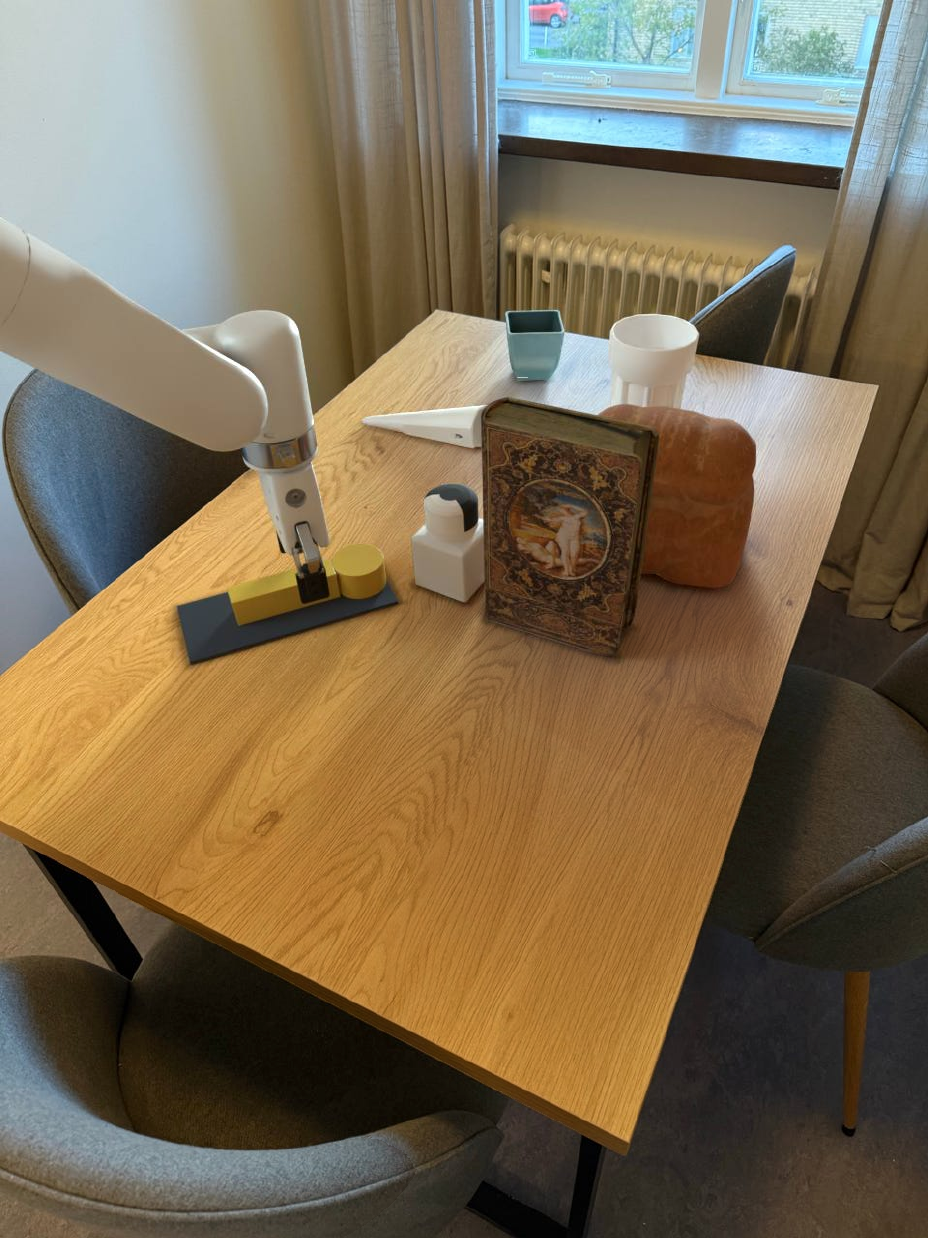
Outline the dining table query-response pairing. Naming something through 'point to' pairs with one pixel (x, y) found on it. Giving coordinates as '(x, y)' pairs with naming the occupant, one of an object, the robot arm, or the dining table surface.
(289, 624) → the mat
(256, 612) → the yellow disc-ended bar
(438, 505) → the medicine bottle
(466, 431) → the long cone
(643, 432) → the book
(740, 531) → the bread
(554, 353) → the flower pot
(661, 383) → the cup
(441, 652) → the dining table surface
